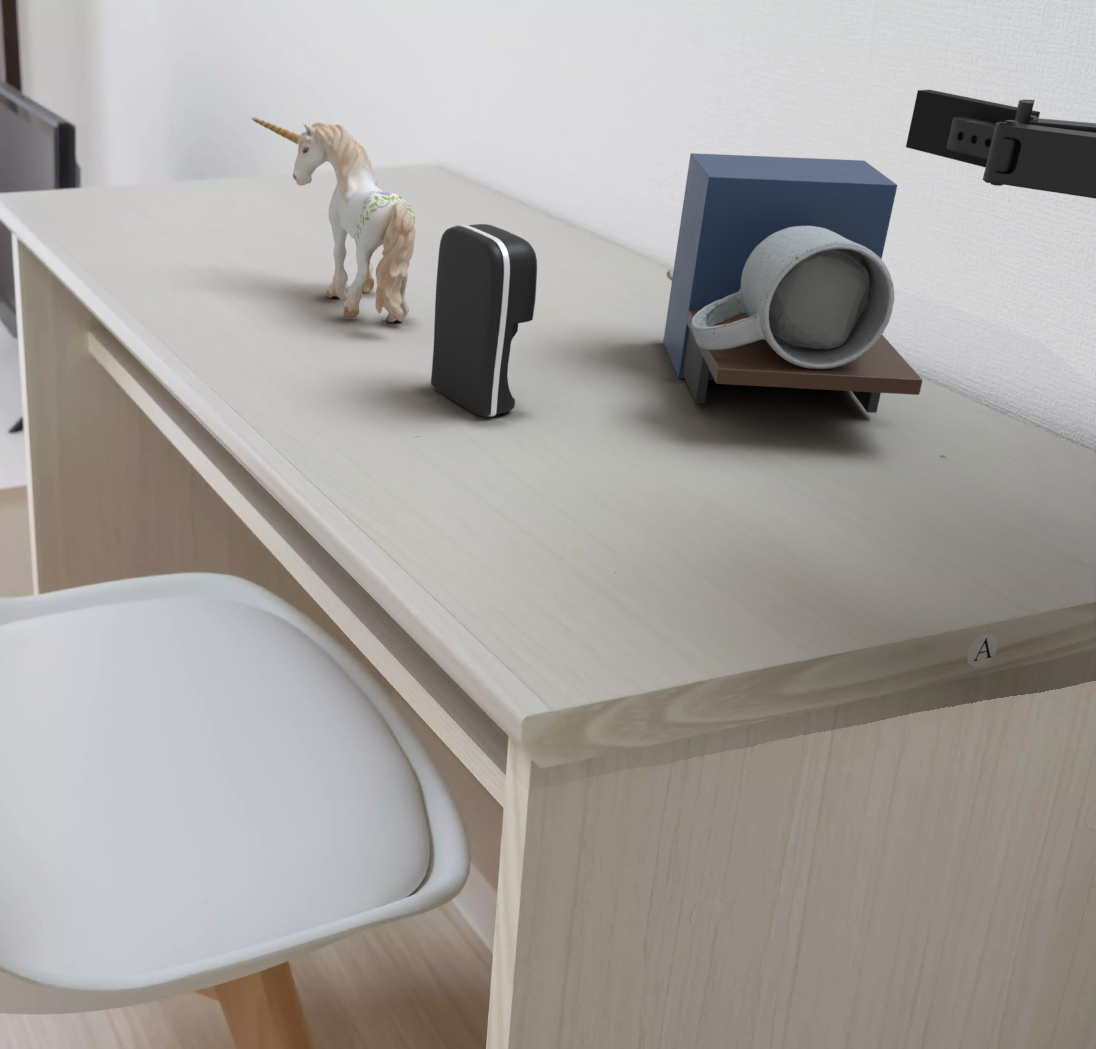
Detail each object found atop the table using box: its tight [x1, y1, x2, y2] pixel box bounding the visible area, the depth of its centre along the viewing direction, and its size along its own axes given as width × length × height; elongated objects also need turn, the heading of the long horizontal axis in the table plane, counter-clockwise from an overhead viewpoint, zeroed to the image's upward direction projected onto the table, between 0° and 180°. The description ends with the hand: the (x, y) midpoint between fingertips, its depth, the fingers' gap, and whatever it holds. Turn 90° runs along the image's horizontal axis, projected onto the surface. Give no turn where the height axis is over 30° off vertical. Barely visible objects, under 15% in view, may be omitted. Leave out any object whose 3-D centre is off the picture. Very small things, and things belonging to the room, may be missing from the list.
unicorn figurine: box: [251, 116, 416, 323], centre depth 105 cm, size 7×20×13 cm, turn 34°
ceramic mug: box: [691, 226, 895, 369], centre depth 83 cm, size 11×8×8 cm
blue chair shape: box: [662, 152, 923, 414], centre depth 89 cm, size 12×20×14 cm, turn 174°
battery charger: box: [430, 223, 538, 417], centre depth 87 cm, size 7×4×11 cm, turn 26°
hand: (1020, 111), depth 68 cm, fingers open, 13 cm apart
